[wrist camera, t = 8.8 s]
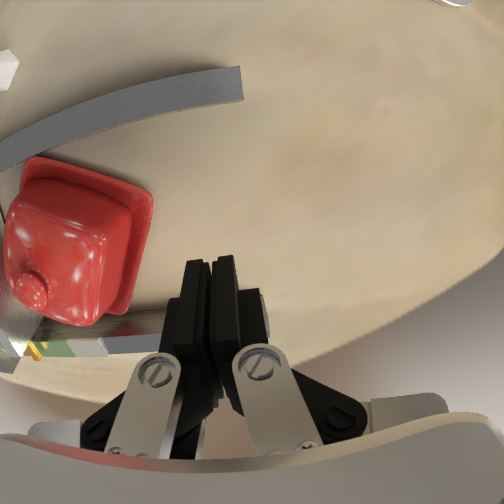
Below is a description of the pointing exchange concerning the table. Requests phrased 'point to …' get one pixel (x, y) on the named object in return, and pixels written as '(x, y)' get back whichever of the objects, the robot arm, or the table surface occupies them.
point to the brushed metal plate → (15, 316)
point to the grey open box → (89, 122)
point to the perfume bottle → (7, 69)
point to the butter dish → (74, 241)
